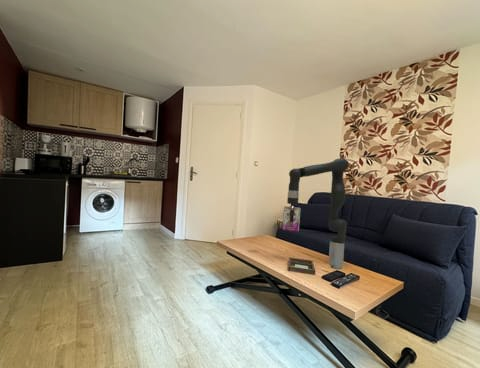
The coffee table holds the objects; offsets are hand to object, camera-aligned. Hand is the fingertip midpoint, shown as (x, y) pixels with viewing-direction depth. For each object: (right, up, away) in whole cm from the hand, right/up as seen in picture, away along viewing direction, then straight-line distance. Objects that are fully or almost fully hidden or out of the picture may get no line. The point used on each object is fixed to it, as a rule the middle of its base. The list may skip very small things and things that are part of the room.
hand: (291, 221), depth 160 cm
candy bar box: (-1, -7, 0) cm, 7 cm away
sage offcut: (+3, -29, -15) cm, 33 cm away
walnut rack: (+4, -30, -11) cm, 32 cm away
